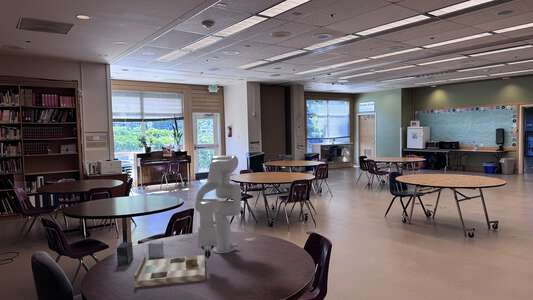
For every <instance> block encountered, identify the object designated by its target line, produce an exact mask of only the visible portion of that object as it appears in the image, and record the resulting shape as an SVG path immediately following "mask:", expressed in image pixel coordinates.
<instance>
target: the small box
mask: <svg viewBox="0 0 533 300" xmlns="http://www.w3.org/2000/svg"><path fill="white" fill-rule="evenodd" d="M133 249H134V248H133V242H132V241H124V242H121V243H120V244H119V245H117V247H116V259H117V260H116V262H117V266H125V265H130V263H131V262H132V261H133V260H134V253H133Z"/></svg>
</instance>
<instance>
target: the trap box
mask: <svg viewBox="0 0 533 300" xmlns="http://www.w3.org/2000/svg"><path fill="white" fill-rule="evenodd" d="M196 256H197V267H188V268H186V261H185V260H186V257H187V256H183V257H182V256H181V257H169V258H159V259H148V260H146V259H147V258H146V255H143V256H142V258H141V260H140V262H139V265H138V266H137V269H136V271H135V273H134V276H133V277H134V278H133V279H134V288H140V287H141V288H142V287H150V286H160V285H161V286H162V285H172V284H180V283H181V284H182V283H190V282H198V281H206V265H205V263H206V262H205V259H206V257H205V254H204V255H196Z"/></svg>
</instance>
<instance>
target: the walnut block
mask: <svg viewBox="0 0 533 300" xmlns="http://www.w3.org/2000/svg"><path fill="white" fill-rule="evenodd" d="M197 256H198V255H190V256H185V257H186V260H185V261H186V268H188V267H197Z"/></svg>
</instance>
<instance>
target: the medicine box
mask: <svg viewBox="0 0 533 300" xmlns="http://www.w3.org/2000/svg"><path fill="white" fill-rule="evenodd" d="M147 249H148V258H162V257H164V255H165V254H164V242H163V241H150V242H149V243H147Z"/></svg>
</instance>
